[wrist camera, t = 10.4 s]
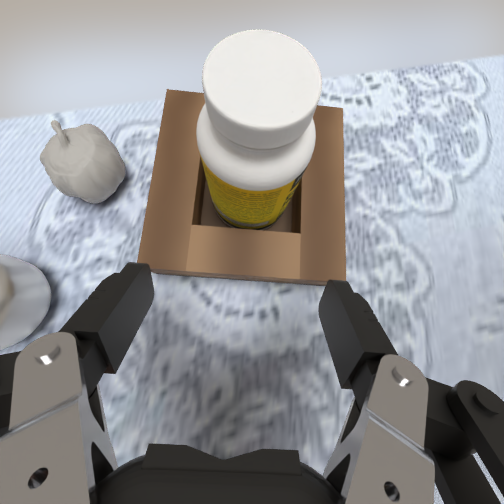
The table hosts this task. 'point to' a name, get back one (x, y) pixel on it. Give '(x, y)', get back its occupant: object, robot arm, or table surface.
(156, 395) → the table surface
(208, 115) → the pill bottle
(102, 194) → the garlic
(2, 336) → the plastic bottle
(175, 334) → the table surface
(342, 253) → the wooden square tray
